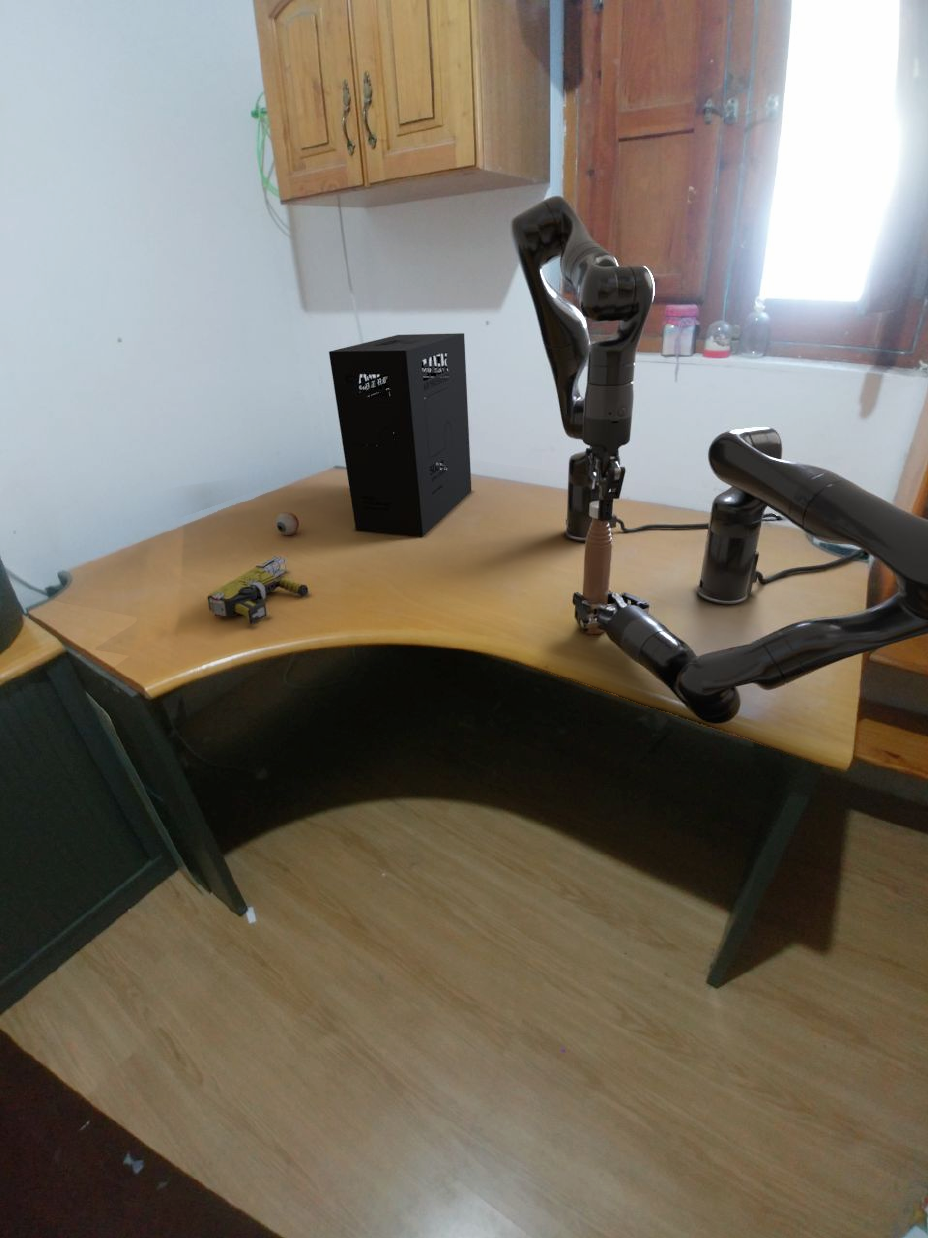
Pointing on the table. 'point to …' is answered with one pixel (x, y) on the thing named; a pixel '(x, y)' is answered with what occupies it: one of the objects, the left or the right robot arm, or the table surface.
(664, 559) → the table surface
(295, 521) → the eyeball
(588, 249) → the left robot arm
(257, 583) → the toy gun
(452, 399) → the cardboard box
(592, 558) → the bottle
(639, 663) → the right robot arm
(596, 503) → the cap
